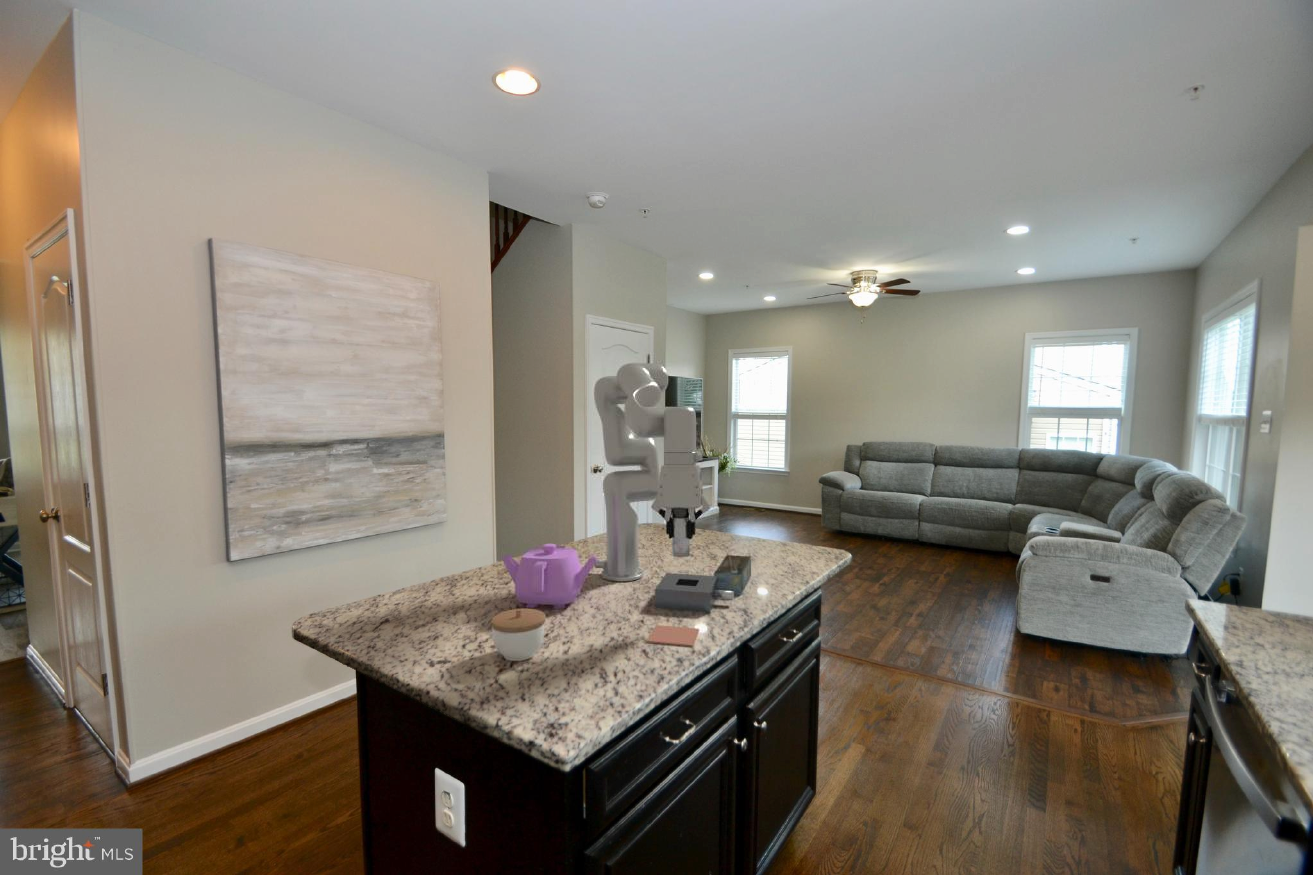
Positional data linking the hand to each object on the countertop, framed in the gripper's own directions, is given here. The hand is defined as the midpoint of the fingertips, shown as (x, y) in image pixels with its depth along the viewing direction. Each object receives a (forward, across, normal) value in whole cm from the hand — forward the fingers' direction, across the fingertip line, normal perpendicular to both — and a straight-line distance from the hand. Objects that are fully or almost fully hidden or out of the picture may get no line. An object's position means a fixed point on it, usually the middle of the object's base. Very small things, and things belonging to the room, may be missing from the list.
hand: (680, 536), depth 132 cm
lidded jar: (+20, +30, +24) cm, 43 cm away
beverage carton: (+20, -10, -31) cm, 39 cm away
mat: (+20, 0, +9) cm, 22 cm away
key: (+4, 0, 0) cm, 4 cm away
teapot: (+20, +36, -7) cm, 42 cm away
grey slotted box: (+20, -2, -14) cm, 25 cm away
